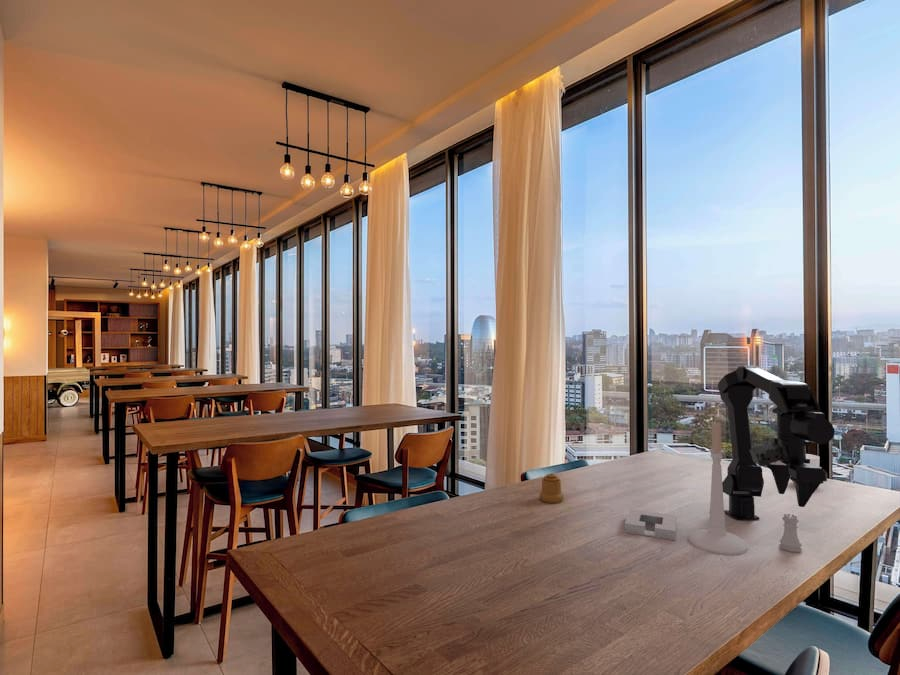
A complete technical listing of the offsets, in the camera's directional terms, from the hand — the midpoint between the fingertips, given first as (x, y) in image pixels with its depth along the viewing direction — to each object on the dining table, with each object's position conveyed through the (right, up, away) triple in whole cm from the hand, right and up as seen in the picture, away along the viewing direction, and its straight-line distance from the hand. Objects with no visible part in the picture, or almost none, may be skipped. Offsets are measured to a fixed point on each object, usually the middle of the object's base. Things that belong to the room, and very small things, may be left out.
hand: (791, 500), depth 117 cm
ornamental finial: (-50, -12, +36) cm, 63 cm away
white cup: (+42, -13, +53) cm, 69 cm away
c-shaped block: (-28, -12, +13) cm, 33 cm away
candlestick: (-16, -12, +3) cm, 20 cm away
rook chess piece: (0, -12, 0) cm, 12 cm away
